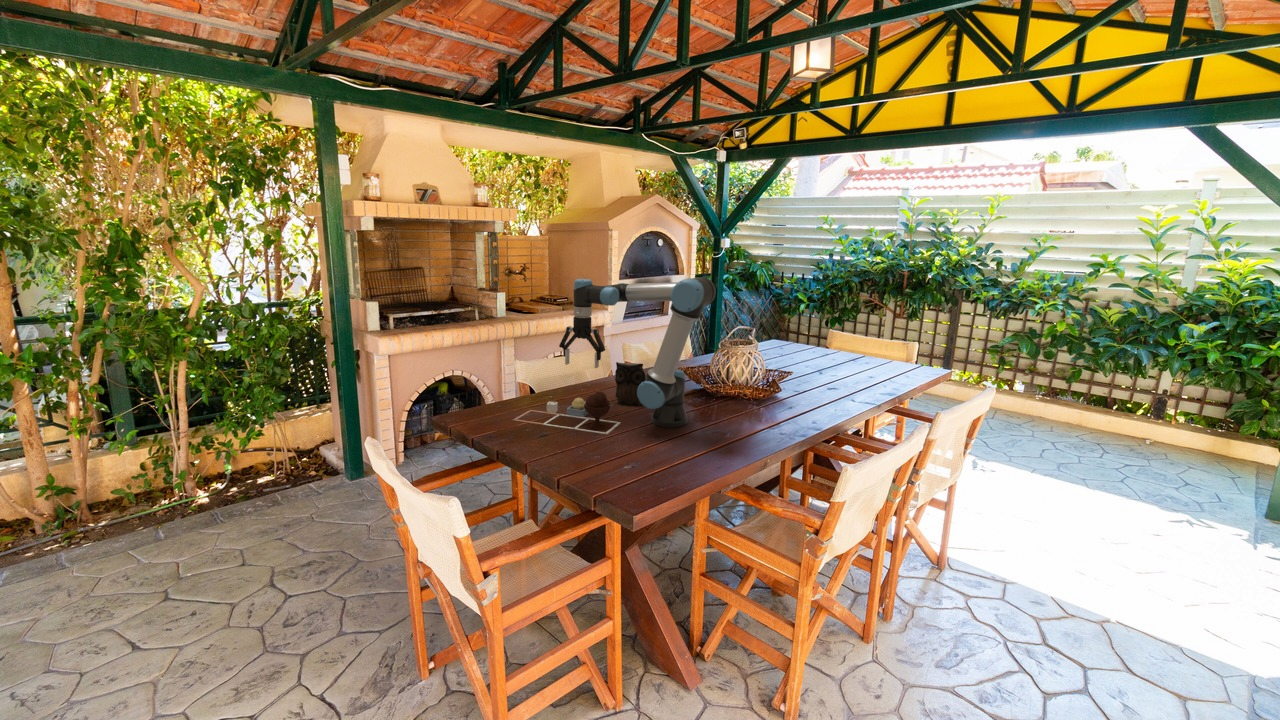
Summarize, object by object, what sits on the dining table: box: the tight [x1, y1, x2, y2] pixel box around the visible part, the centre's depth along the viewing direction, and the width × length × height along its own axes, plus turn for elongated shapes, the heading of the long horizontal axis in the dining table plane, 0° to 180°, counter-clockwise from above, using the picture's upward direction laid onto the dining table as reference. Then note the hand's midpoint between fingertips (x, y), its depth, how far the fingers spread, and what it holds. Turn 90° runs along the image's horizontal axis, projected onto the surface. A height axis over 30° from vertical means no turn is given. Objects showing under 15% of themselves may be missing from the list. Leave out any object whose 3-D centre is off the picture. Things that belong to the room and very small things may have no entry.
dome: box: [571, 397, 586, 410], centre depth 255 cm, size 6×6×5 cm
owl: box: [614, 361, 646, 407], centre depth 270 cm, size 13×13×20 cm
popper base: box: [566, 404, 589, 417], centre depth 256 cm, size 8×8×3 cm
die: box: [546, 401, 559, 413], centre depth 258 cm, size 4×4×4 cm
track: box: [512, 409, 622, 435], centre depth 245 cm, size 15×43×1 cm, turn 71°
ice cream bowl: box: [584, 391, 612, 429], centre depth 239 cm, size 11×11×15 cm
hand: (581, 365), depth 248 cm, fingers open, 13 cm apart
